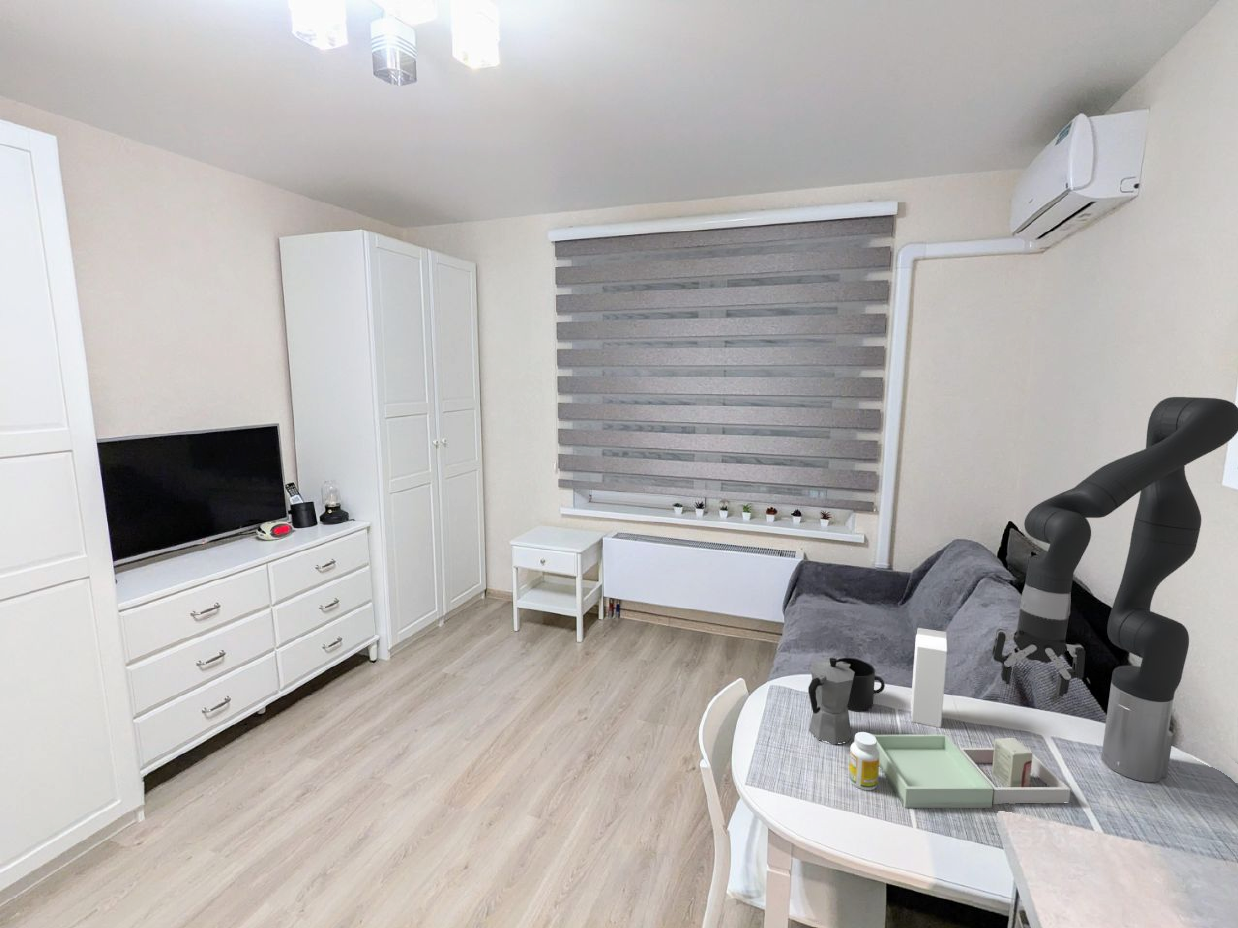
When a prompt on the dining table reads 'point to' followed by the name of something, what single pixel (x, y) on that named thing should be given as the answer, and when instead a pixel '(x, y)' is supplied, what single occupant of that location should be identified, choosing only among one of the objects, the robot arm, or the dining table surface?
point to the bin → (931, 772)
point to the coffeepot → (830, 700)
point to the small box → (1012, 762)
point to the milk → (928, 677)
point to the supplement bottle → (864, 761)
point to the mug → (862, 684)
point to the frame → (1013, 795)
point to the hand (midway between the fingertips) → (1032, 688)
